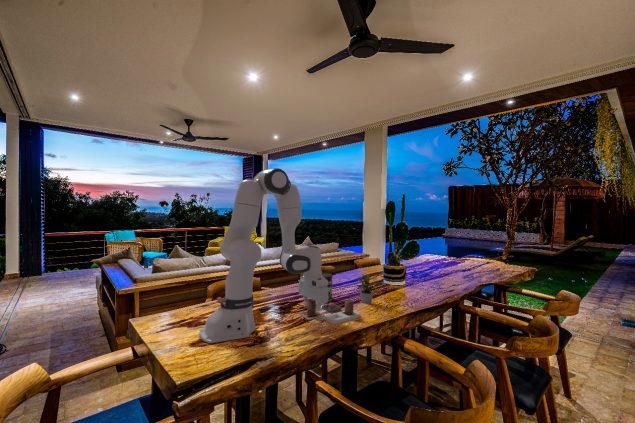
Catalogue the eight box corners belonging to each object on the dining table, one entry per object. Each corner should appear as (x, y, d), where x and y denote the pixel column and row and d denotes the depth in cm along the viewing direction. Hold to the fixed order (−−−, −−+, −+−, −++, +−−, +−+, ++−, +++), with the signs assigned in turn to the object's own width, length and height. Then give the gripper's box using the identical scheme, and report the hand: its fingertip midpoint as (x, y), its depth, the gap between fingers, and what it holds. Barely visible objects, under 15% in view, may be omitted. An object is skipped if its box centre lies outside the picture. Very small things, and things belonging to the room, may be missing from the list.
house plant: (347, 299, 169) (348, 271, 169) (369, 297, 173) (370, 269, 173) (358, 307, 155) (359, 276, 155) (382, 305, 160) (382, 275, 159)
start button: (331, 310, 148) (331, 304, 148) (327, 308, 150) (327, 303, 150) (335, 309, 149) (335, 303, 149) (332, 307, 152) (332, 302, 151)
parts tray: (308, 322, 135) (308, 318, 135) (298, 315, 142) (298, 312, 142) (324, 318, 140) (324, 314, 140) (313, 312, 147) (313, 309, 147)
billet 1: (310, 318, 138) (310, 303, 138) (305, 315, 142) (305, 300, 142) (317, 316, 141) (317, 301, 141) (312, 313, 144) (312, 299, 144)
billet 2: (348, 318, 138) (348, 303, 137) (342, 315, 141) (343, 301, 141) (354, 316, 140) (355, 302, 140) (349, 314, 143) (349, 299, 143)
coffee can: (333, 297, 173) (333, 273, 173) (330, 302, 163) (331, 277, 163) (316, 295, 175) (316, 272, 175) (312, 301, 165) (312, 276, 165)
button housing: (330, 314, 145) (330, 309, 145) (321, 310, 150) (321, 305, 150) (341, 312, 149) (341, 307, 149) (332, 307, 154) (332, 303, 154)
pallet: (333, 326, 131) (333, 320, 131) (324, 321, 136) (324, 315, 136) (360, 319, 140) (360, 313, 140) (350, 314, 146) (350, 309, 146)
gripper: (295, 275, 148) (295, 302, 148) (319, 284, 131) (319, 315, 132) (305, 273, 152) (305, 300, 152) (330, 282, 135) (330, 312, 136)
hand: (312, 307), depth 142 cm, fingers open, 8 cm apart
